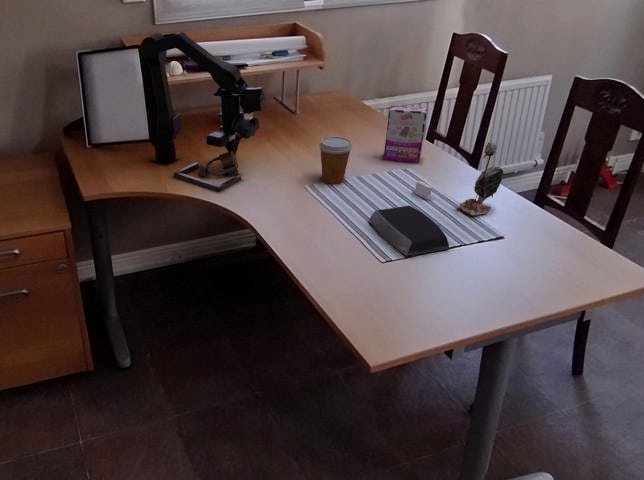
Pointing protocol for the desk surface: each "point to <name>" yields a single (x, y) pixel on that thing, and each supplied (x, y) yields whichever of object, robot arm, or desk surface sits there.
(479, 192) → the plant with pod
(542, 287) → the desk surface
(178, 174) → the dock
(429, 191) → the eraser
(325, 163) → the disposable coffee cup
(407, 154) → the candy bar box
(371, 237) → the desk surface
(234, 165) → the mechanical counter
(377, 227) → the hard drive
